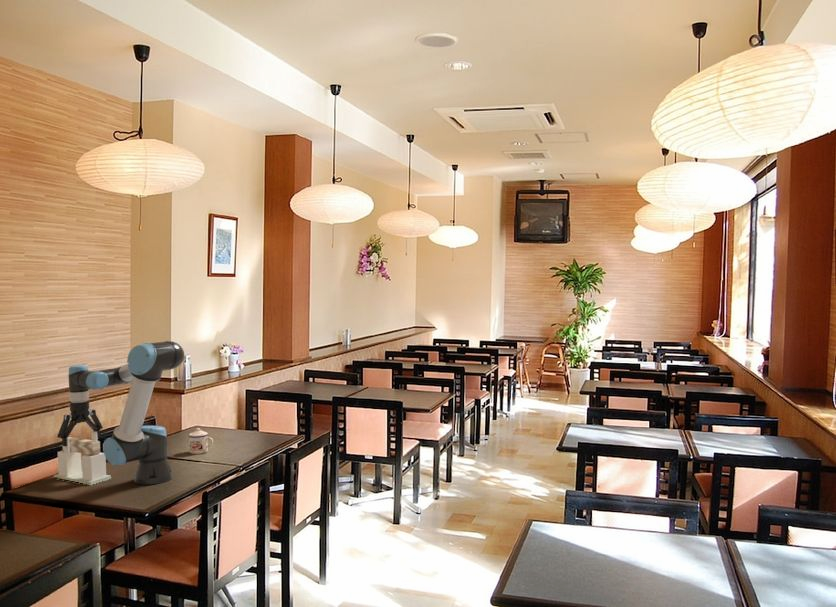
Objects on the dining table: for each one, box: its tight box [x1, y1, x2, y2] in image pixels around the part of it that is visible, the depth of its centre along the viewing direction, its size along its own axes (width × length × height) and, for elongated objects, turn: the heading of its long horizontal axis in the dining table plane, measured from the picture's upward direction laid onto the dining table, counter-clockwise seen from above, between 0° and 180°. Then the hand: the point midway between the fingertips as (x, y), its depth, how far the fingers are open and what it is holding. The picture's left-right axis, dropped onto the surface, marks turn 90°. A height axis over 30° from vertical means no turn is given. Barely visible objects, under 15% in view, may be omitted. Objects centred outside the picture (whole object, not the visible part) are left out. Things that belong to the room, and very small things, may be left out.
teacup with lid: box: [188, 427, 214, 455], centre depth 344 cm, size 12×9×12 cm
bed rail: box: [62, 436, 101, 456], centre depth 301 cm, size 20×4×9 cm, turn 62°
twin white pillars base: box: [53, 449, 112, 486], centre depth 301 cm, size 24×10×12 cm, turn 62°
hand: (81, 449), depth 301 cm, fingers open, 13 cm apart
